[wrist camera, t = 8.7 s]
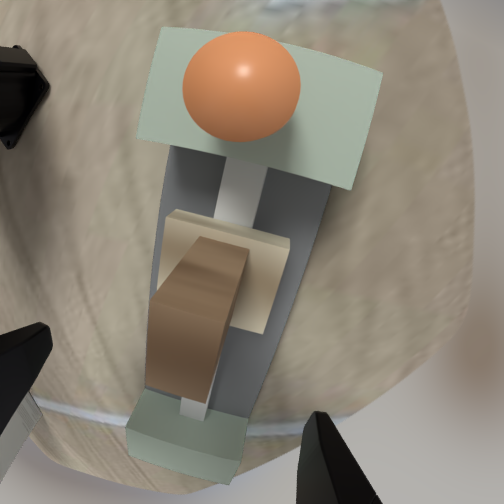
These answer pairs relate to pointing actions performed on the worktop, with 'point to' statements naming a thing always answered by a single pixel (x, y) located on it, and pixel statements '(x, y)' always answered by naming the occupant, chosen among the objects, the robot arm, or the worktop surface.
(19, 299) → the worktop surface
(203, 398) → the carriage
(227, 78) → the orange knob
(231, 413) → the rail bench
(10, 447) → the skincare box
